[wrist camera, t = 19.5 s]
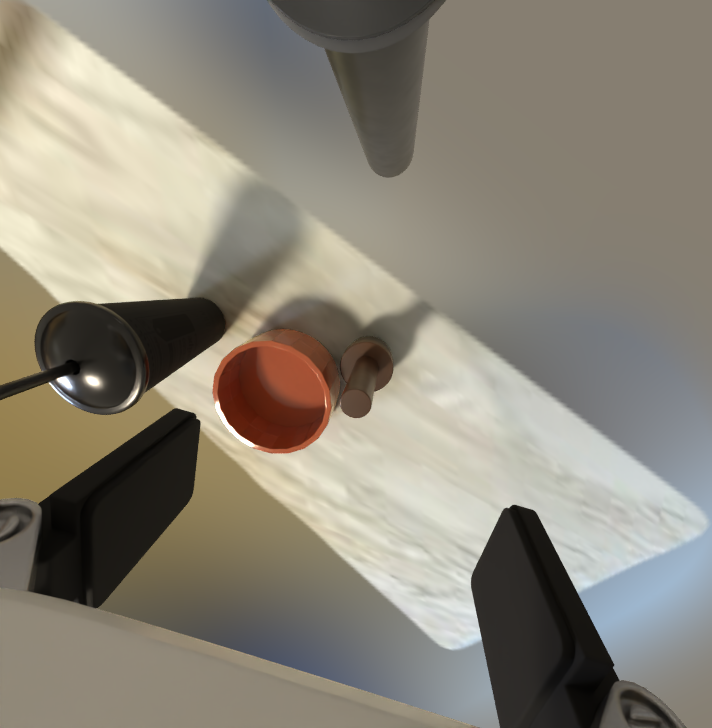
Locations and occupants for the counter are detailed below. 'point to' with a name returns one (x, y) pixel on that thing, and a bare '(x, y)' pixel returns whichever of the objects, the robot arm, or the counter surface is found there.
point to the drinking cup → (117, 349)
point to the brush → (364, 374)
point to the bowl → (277, 390)
